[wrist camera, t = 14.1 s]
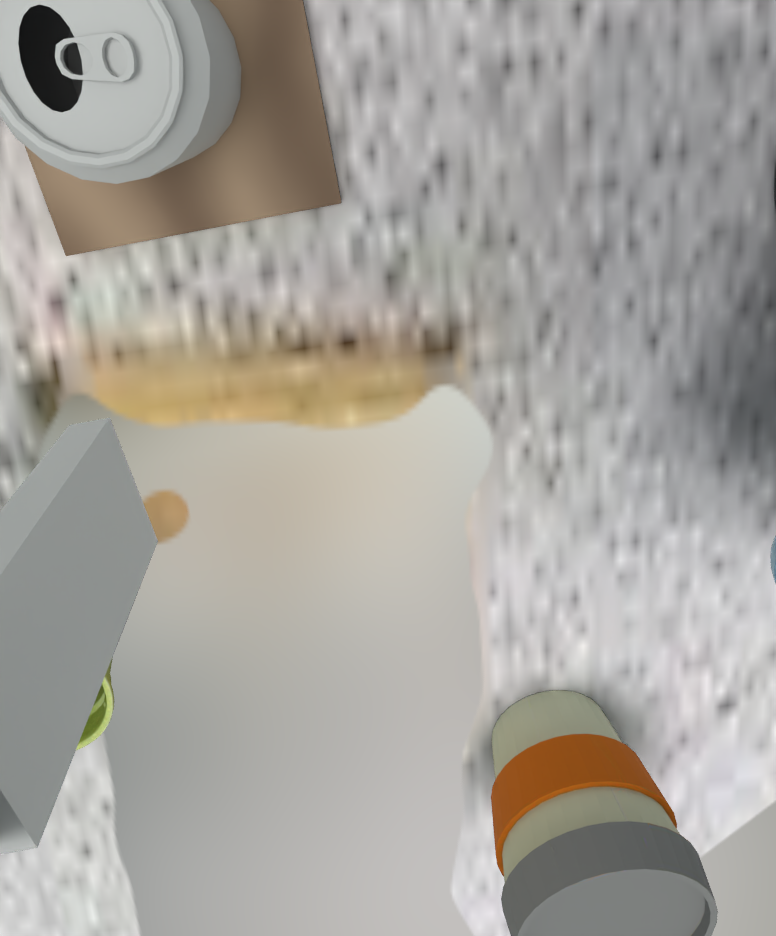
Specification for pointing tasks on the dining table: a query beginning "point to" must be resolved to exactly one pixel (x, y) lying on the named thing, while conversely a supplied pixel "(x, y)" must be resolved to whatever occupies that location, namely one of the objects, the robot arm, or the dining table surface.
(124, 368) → the dining table surface
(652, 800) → the reusable coffee cup
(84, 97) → the can
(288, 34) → the pad
